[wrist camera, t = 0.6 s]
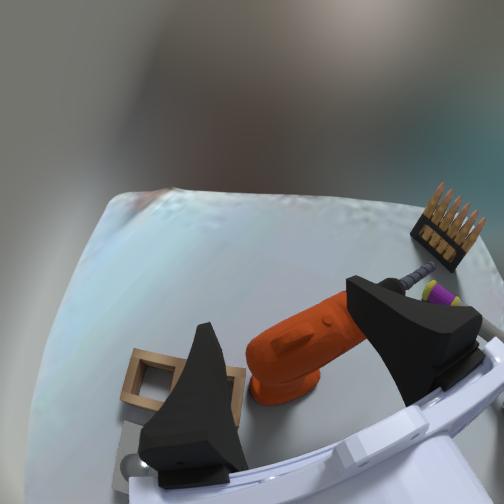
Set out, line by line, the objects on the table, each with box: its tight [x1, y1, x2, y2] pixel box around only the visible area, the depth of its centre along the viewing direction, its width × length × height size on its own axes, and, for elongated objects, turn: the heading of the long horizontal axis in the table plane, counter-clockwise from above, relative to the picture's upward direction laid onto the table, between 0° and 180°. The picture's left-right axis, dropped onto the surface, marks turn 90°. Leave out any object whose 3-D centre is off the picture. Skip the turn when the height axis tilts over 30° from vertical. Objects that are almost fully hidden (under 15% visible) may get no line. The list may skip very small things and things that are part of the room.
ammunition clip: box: [410, 182, 486, 273], centre depth 36 cm, size 11×2×12 cm, turn 35°
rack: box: [120, 348, 246, 428], centre depth 25 cm, size 12×6×2 cm, turn 84°
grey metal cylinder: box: [120, 453, 158, 483], centre depth 17 cm, size 3×3×8 cm
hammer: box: [422, 280, 504, 409], centre depth 24 cm, size 15×8×30 cm
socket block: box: [112, 420, 144, 495], centre depth 19 cm, size 8×8×2 cm
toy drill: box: [246, 261, 435, 406], centre depth 23 cm, size 5×19×15 cm, turn 114°
